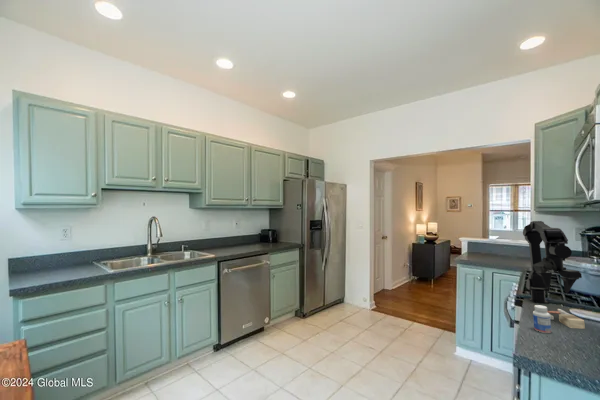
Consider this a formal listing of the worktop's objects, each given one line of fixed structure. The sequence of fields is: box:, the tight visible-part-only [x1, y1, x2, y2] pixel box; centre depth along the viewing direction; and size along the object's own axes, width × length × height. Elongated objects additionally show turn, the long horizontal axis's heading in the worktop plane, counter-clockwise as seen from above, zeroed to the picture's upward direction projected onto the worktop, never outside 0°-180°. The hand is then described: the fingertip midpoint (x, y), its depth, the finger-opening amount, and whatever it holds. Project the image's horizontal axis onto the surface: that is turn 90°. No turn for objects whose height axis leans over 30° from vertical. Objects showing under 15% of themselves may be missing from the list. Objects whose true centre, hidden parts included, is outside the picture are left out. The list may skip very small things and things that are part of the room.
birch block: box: [558, 313, 586, 330], centre depth 118 cm, size 7×5×4 cm
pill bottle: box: [532, 304, 552, 334], centre depth 114 cm, size 6×5×10 cm
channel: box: [547, 308, 571, 321], centre depth 129 cm, size 12×9×2 cm
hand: (557, 290), depth 127 cm, fingers open, 9 cm apart
